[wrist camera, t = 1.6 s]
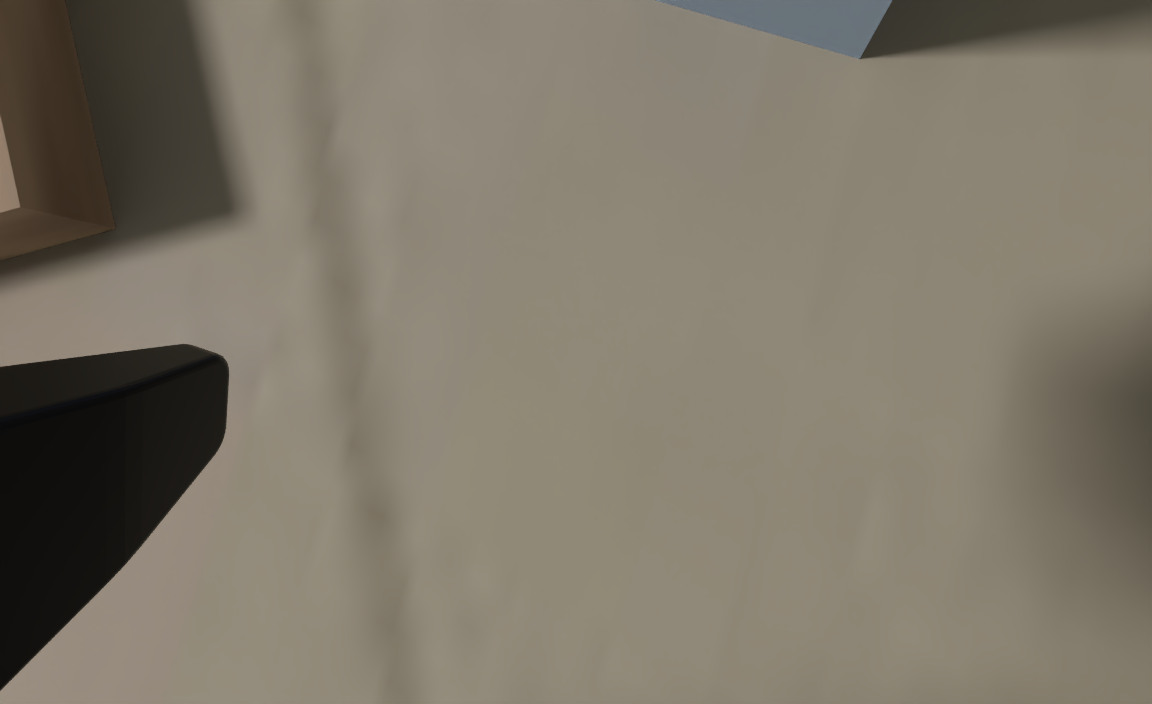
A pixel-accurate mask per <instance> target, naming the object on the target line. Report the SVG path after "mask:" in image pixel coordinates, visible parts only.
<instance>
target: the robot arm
mask: <svg viewBox="0 0 1152 704" xmlns="http://www.w3.org/2000/svg"><path fill="white" fill-rule="evenodd" d="M228 385H229V367H228V363H227V361H226V360H225V359H224V357H223V356H221V355H219V354H217V353H214V352H211V351H208V350H205V349H202V348H199V347H196V346H193V345H189V344H179V345H171V346H163V347H155V348H147V349H139V350H131V351H123V352H115V353H107V354H99V355H91V356H83V357H75V358H67V359H59V360H51V361H43V362H35V363H27V364H19V365H11V366H4V367H0V691H1V690H2V689H3V688H4V687H5V686H6V685H7V684H8V683H9V682H10V681H11V680H12V679H13V678H14V677H15V676H16V675H17V673H18V672H19V671H20V670H21V669H22V668H23V667H24V666H25V665H26V664H27V663H28V662H29V661H30V660H31V659H32V658H33V657H34V656H35V655H36V654H37V653H38V652H39V651H40V650H41V649H42V648H43V647H44V646H45V645H46V644H47V643H48V642H49V641H50V640H51V639H52V638H53V637H54V636H55V635H56V634H57V633H58V632H59V631H60V630H61V629H62V628H63V627H64V626H65V625H66V624H67V623H68V622H69V621H70V620H71V619H72V618H73V617H74V616H75V615H76V614H77V613H78V612H79V611H80V610H81V609H82V608H83V607H84V606H85V605H86V604H87V603H88V602H89V601H90V600H91V599H92V598H93V597H94V596H95V595H96V594H97V593H98V592H99V591H100V590H101V589H102V588H103V587H104V586H105V585H106V584H107V583H108V582H109V581H110V580H111V579H112V578H113V577H114V576H115V575H116V574H117V573H118V572H119V571H120V570H121V568H122V567H123V566H124V565H125V564H126V563H127V562H128V561H129V560H130V558H131V557H132V556H133V555H134V554H135V553H136V552H137V550H138V549H139V548H140V547H141V546H142V544H143V543H144V542H145V541H146V539H147V538H148V537H149V536H150V535H151V533H152V532H153V531H154V530H155V528H156V527H157V526H158V525H159V523H160V522H161V521H162V520H163V518H164V517H165V516H166V515H167V513H168V512H169V511H170V510H171V508H172V507H173V506H174V505H175V504H176V502H177V501H178V500H179V499H180V497H181V496H182V495H183V494H184V492H185V491H186V490H187V489H188V487H189V486H190V485H191V484H192V482H193V481H194V480H195V479H196V477H197V476H198V475H199V474H200V473H201V471H202V470H203V469H204V468H205V466H206V465H207V464H208V463H209V461H210V460H211V459H212V458H213V456H214V455H215V454H216V452H217V451H218V449H219V447H220V445H221V443H222V441H223V438H224V435H225V430H226V419H227V402H228Z"/></svg>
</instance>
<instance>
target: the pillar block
mask: <svg viewBox="0 0 1152 704" xmlns="http://www.w3.org/2000/svg"><path fill="white" fill-rule="evenodd" d="M656 1H660V2H663V3H667V4H670V5H674V6H677V7H680V8H684V9H687V10H691V11H694V12H698V13H701V14H705V15H708V16H712V17H715V18H719V19H722V20H726V21H729V22H733V23H736V24H740V25H743V26H747V27H750V28H754V29H757V30H760V31H764V32H767V33H771V34H774V35H778V36H781V37H785V38H788V39H792V40H795V41H799V42H802V43H806V44H809V45H813V46H816V47H820V48H823V49H827V50H830V51H834V52H837V53H840V54H844V55H847V56H851V57H854V58H858V59H860V57H861V56H862V54H863V52H864V50H865V48H866V47H867V45H868V43H869V41H870V40H871V38H872V36H873V34H874V32H875V31H876V29H877V27H878V25H879V23H880V22H881V20H882V18H883V16H884V14H885V13H886V11H887V9H888V7H889V6H890V4H891V2H892V0H656Z"/></svg>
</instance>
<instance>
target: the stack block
mask: <svg viewBox="0 0 1152 704" xmlns="http://www.w3.org/2000/svg"><path fill="white" fill-rule="evenodd" d="M113 229H116V227H115V223H114V218H113V214H112V209H111V205H110V200H109V196H108V191H107V187H106V182H105V178H104V173H103V169H102V164H101V160H100V155H99V151H98V146H97V142H96V137H95V133H94V128H93V124H92V119H91V115H90V110H89V106H88V101H87V97H86V92H85V88H84V83H83V79H82V74H81V70H80V65H79V60H78V56H77V51H76V47H75V42H74V38H73V33H72V29H71V24H70V20H69V15H68V11H67V6H66V2H65V0H0V260H4V259H8V258H11V257H15V256H19V255H22V254H26V253H30V252H33V251H37V250H40V249H44V248H48V247H51V246H55V245H59V244H62V243H66V242H70V241H73V240H77V239H81V238H84V237H88V236H91V235H95V234H99V233H102V232H106V231H110V230H113Z"/></svg>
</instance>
